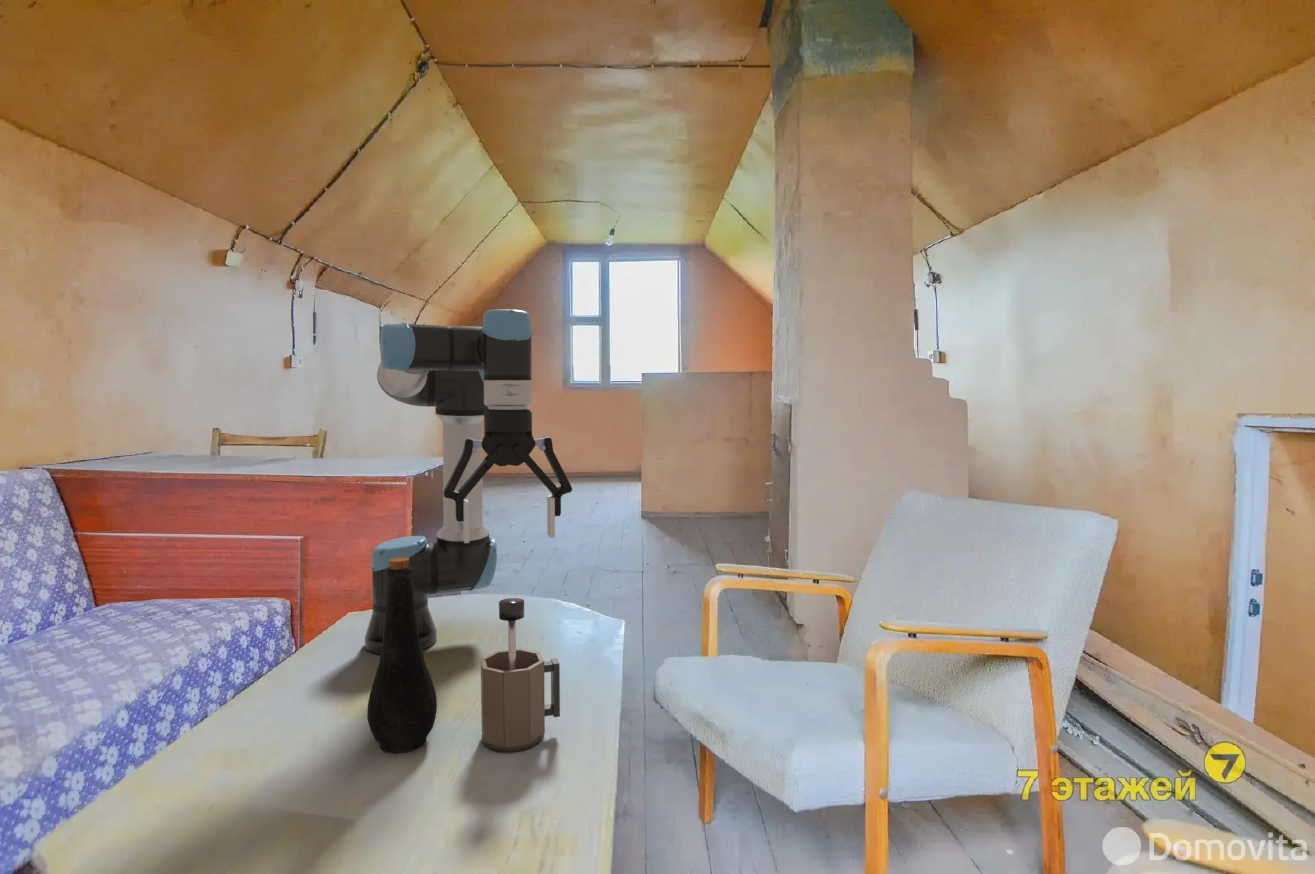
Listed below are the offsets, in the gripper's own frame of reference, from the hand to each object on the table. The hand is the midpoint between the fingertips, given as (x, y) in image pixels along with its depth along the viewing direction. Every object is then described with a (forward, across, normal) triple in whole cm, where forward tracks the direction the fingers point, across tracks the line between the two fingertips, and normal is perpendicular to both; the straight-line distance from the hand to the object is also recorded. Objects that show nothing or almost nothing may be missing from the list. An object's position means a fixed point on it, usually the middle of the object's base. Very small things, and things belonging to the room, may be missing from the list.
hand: (509, 538), depth 118 cm
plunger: (+31, 0, -2) cm, 31 cm away
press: (+33, +1, -2) cm, 33 cm away
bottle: (+33, -17, +2) cm, 37 cm away
